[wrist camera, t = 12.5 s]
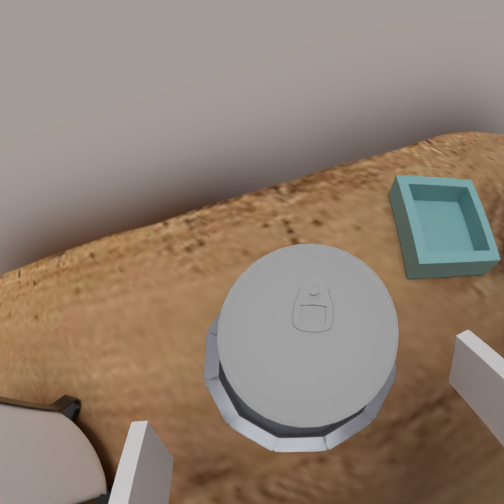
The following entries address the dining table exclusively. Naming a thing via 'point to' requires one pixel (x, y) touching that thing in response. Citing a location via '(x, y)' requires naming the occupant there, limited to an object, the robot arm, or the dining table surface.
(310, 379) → the canned food
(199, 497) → the dining table surface
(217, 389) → the round gray bowl
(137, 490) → the robot arm
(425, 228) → the square tray
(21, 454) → the coffee press
